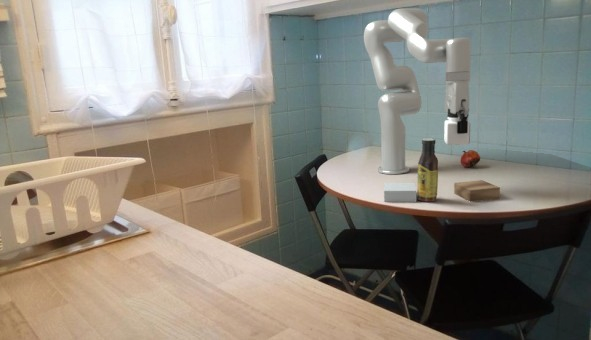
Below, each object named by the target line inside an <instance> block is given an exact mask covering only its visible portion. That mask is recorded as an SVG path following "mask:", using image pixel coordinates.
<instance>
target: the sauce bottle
mask: <svg viewBox="0 0 591 340" xmlns="http://www.w3.org/2000/svg"><path fill="white" fill-rule="evenodd" d="M421 145H422V151H421V154H420V157H419V160H418V162H417V188H416V195H417V199H418V200H419V201H421V202H428V203H429V202H430V203H431V202H435V201H437V199H438V185H439V184H438V183H439V182H438V181H439V161H438V156H436V154H435V152H436V151H435V149H436V139H435V138H431V137H426V138H422V139H421Z"/></svg>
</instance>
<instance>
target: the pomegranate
mask: <svg viewBox="0 0 591 340" xmlns="http://www.w3.org/2000/svg"><path fill="white" fill-rule="evenodd" d="M462 153H463V154H462V155H461V156H460V157H461V158H460V164H461V165H462V166H463V167H464V168H467V169H468V168H473V167H474V168H475V169H476V170H478V168H477V167H476V165H477V164H478V163H479V162H480V161H481V155H480V154H479V153H478V152H477V151H475V150H472V149H471V150H468V151H466V150H463V151H462Z"/></svg>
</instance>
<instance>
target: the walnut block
mask: <svg viewBox="0 0 591 340" xmlns="http://www.w3.org/2000/svg"><path fill="white" fill-rule="evenodd" d="M453 187H454V189H453V190H454V191H453V192H454V194H455V195H456V196H458V197H460V198H461V199H463V200H466V201H467V200H468V201H467V202H469V201H470V202H471V201H473V202H479V201H480V202H481V200H483V201H489V200H490V199H492V200H500V195H501V194H500V192H501V191H500V190H501V187H500V186H498V185H496V184H493V183H490V182H489V181H488V182H487V181H485V180H484V179H483V180H481V179H480V180H469V181H462V182H454V184H453ZM470 202H469V203H470ZM471 203H472V202H471Z"/></svg>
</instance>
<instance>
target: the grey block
mask: <svg viewBox="0 0 591 340" xmlns="http://www.w3.org/2000/svg"><path fill="white" fill-rule="evenodd" d="M383 190H384V191H383V197H384V198H383V200H384V201H383V202H384V203H416V202H417V188H416V184H415V182H384V183H383Z"/></svg>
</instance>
